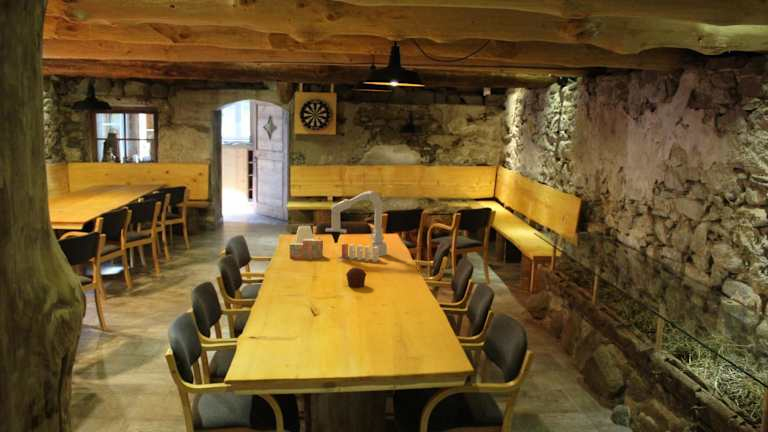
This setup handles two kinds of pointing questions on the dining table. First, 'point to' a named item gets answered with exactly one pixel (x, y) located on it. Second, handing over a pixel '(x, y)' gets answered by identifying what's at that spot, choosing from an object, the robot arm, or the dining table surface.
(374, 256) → the ivory domino
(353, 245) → the ivory domino
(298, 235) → the cup
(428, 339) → the dining table surface
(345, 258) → the domino mat
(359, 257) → the ivory domino
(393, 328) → the dining table surface
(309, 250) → the stack of blocks
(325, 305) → the dining table surface
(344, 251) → the red domino
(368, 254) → the ivory domino
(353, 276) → the muffin
